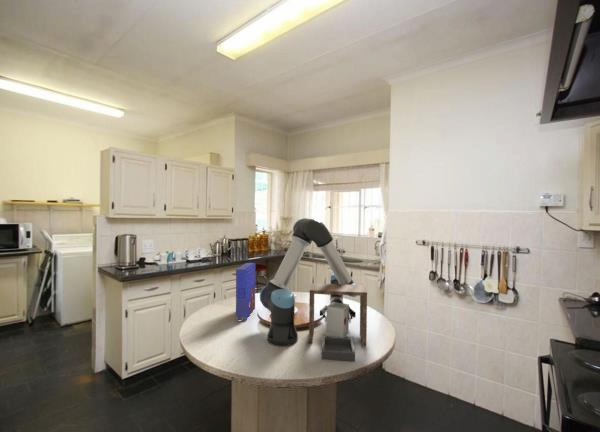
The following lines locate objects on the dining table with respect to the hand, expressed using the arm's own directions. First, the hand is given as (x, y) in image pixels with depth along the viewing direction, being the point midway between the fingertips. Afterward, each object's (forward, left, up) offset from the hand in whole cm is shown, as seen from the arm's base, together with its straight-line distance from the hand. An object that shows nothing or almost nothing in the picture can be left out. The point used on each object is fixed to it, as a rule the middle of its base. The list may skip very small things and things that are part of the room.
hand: (337, 319), depth 139 cm
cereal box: (-55, +29, -11) cm, 64 cm away
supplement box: (0, +2, -9) cm, 9 cm away
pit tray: (0, -12, -10) cm, 16 cm away
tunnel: (0, +3, -10) cm, 11 cm away
